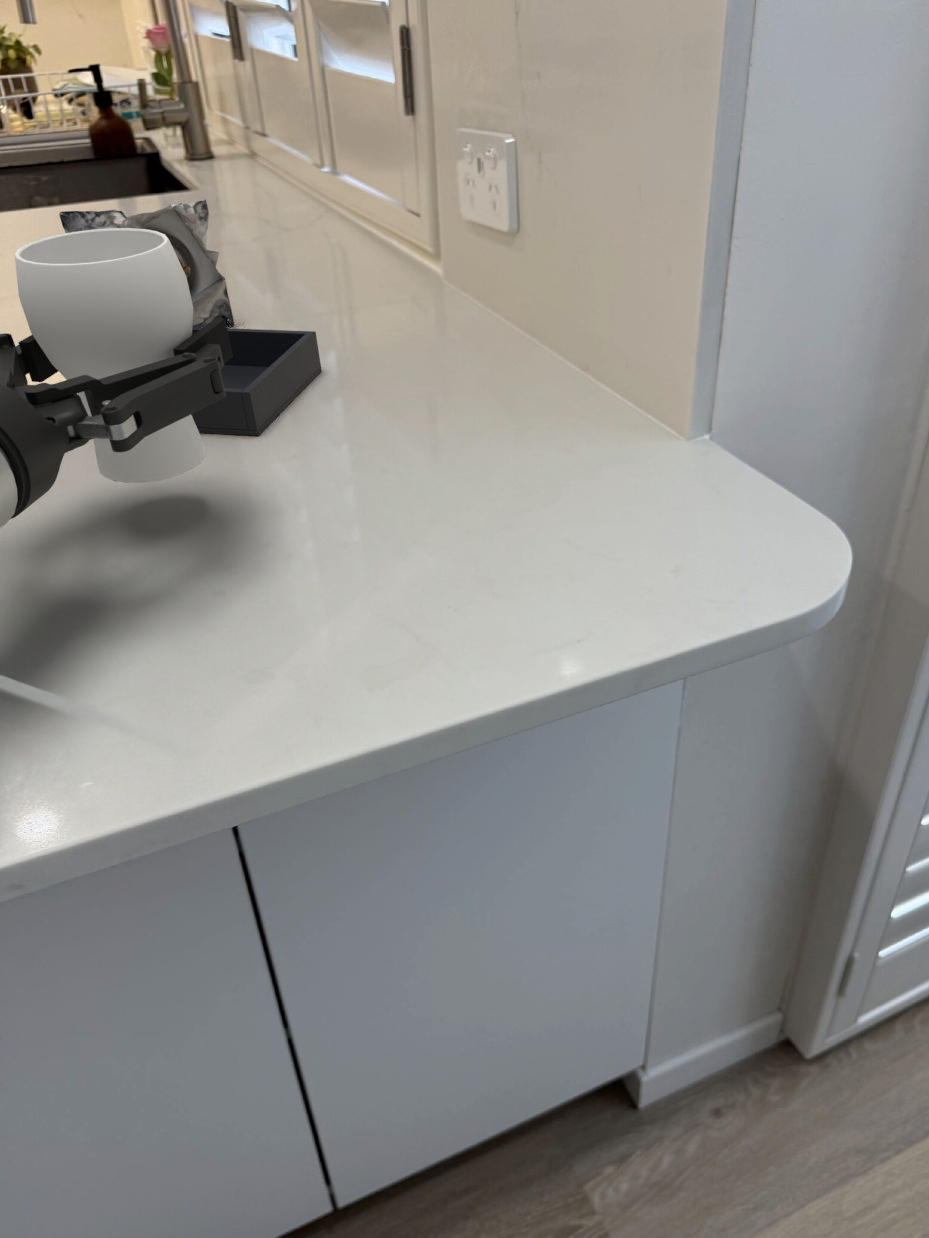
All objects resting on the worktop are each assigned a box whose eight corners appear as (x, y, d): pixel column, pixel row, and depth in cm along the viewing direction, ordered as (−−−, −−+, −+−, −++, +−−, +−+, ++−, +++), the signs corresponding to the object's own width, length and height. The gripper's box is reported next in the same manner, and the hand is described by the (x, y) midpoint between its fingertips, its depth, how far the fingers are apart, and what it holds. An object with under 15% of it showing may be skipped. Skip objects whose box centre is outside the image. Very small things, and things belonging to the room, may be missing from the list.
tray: (89, 426, 87) (75, 384, 84) (172, 364, 99) (163, 325, 97) (258, 436, 84) (249, 392, 81) (321, 371, 97) (315, 331, 94)
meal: (227, 318, 112) (202, 196, 104) (235, 328, 109) (209, 203, 100) (95, 338, 107) (58, 211, 99) (99, 349, 104) (61, 219, 96)
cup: (150, 423, 76) (94, 220, 67) (255, 445, 72) (211, 233, 63) (46, 477, 68) (-33, 257, 59) (157, 505, 65) (91, 275, 55)
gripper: (-191, 512, 56) (26, 378, 73) (170, 541, 52) (310, 393, 69) (-258, 388, 51) (-10, 275, 68) (133, 410, 47) (293, 285, 64)
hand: (151, 334), depth 68 cm, fingers closed on cup, 11 cm apart
